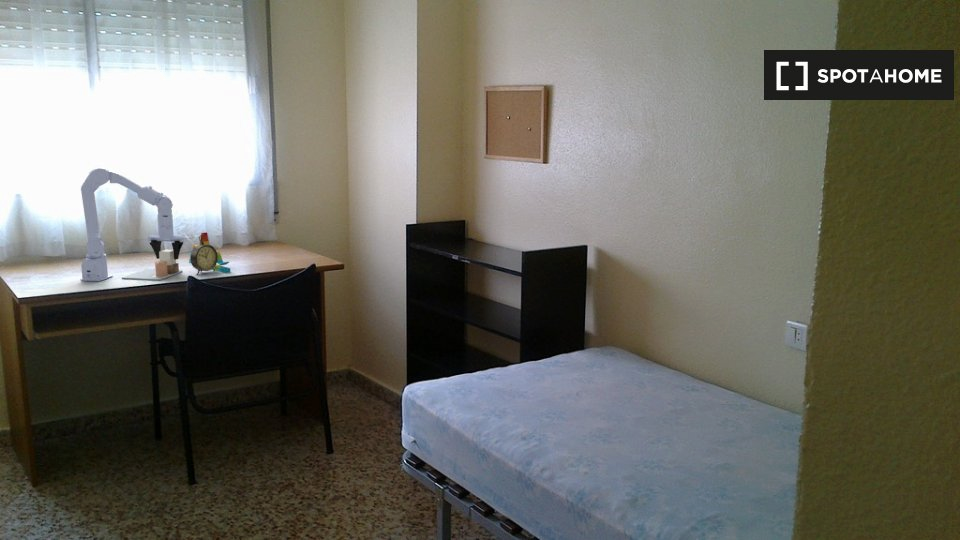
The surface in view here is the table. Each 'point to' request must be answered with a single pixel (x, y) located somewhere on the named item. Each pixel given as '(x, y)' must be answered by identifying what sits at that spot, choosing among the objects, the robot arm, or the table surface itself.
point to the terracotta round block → (161, 269)
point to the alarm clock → (204, 257)
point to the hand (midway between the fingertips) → (167, 258)
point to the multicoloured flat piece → (219, 261)
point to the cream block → (167, 256)
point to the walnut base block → (173, 268)
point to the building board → (148, 275)
